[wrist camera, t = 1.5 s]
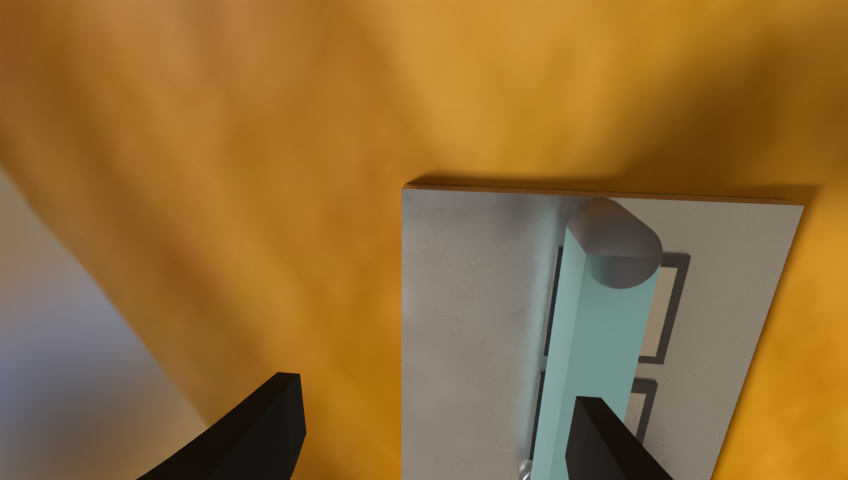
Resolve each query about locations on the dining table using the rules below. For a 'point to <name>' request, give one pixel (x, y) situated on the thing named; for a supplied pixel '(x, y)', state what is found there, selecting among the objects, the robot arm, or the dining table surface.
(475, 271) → the panel
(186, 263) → the dining table surface
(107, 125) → the dining table surface
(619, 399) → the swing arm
